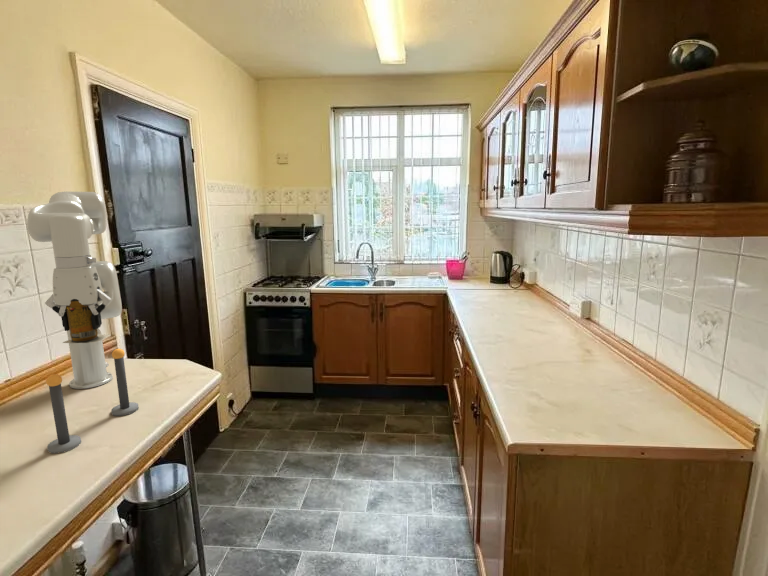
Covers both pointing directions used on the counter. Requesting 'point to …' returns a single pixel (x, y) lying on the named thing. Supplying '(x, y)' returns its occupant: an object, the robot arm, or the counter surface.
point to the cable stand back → (122, 386)
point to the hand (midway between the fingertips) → (83, 328)
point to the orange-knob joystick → (60, 418)
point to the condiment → (81, 324)
